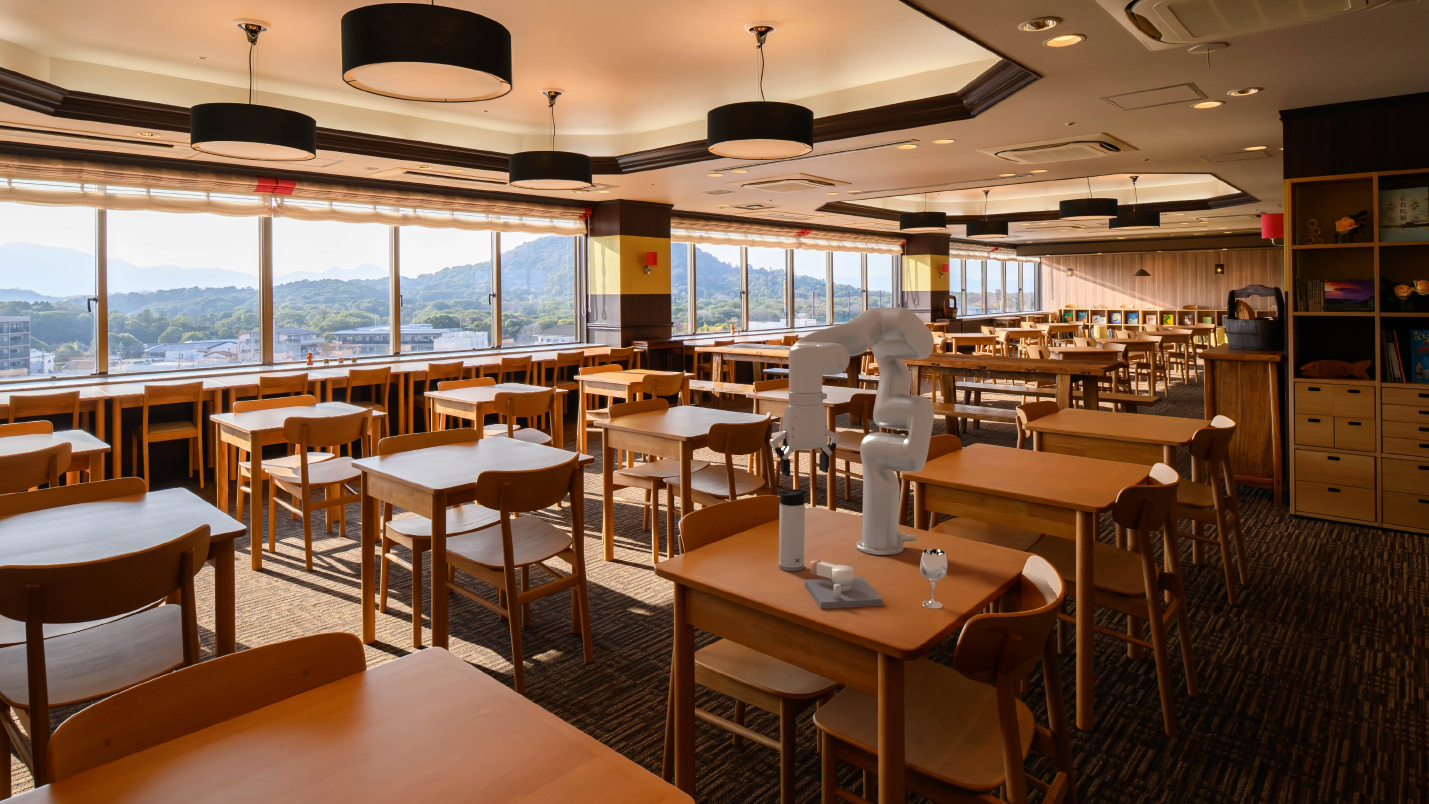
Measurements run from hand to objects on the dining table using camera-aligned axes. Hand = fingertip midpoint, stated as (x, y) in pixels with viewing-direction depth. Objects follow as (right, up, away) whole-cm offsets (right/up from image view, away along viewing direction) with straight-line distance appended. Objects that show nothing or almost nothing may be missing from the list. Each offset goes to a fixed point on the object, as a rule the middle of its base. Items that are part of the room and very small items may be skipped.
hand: (804, 473), depth 181 cm
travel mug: (-1, -25, +17) cm, 31 cm away
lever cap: (+6, -24, 0) cm, 25 cm away
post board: (+8, -28, -2) cm, 29 cm away
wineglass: (+27, -28, -7) cm, 40 cm away
